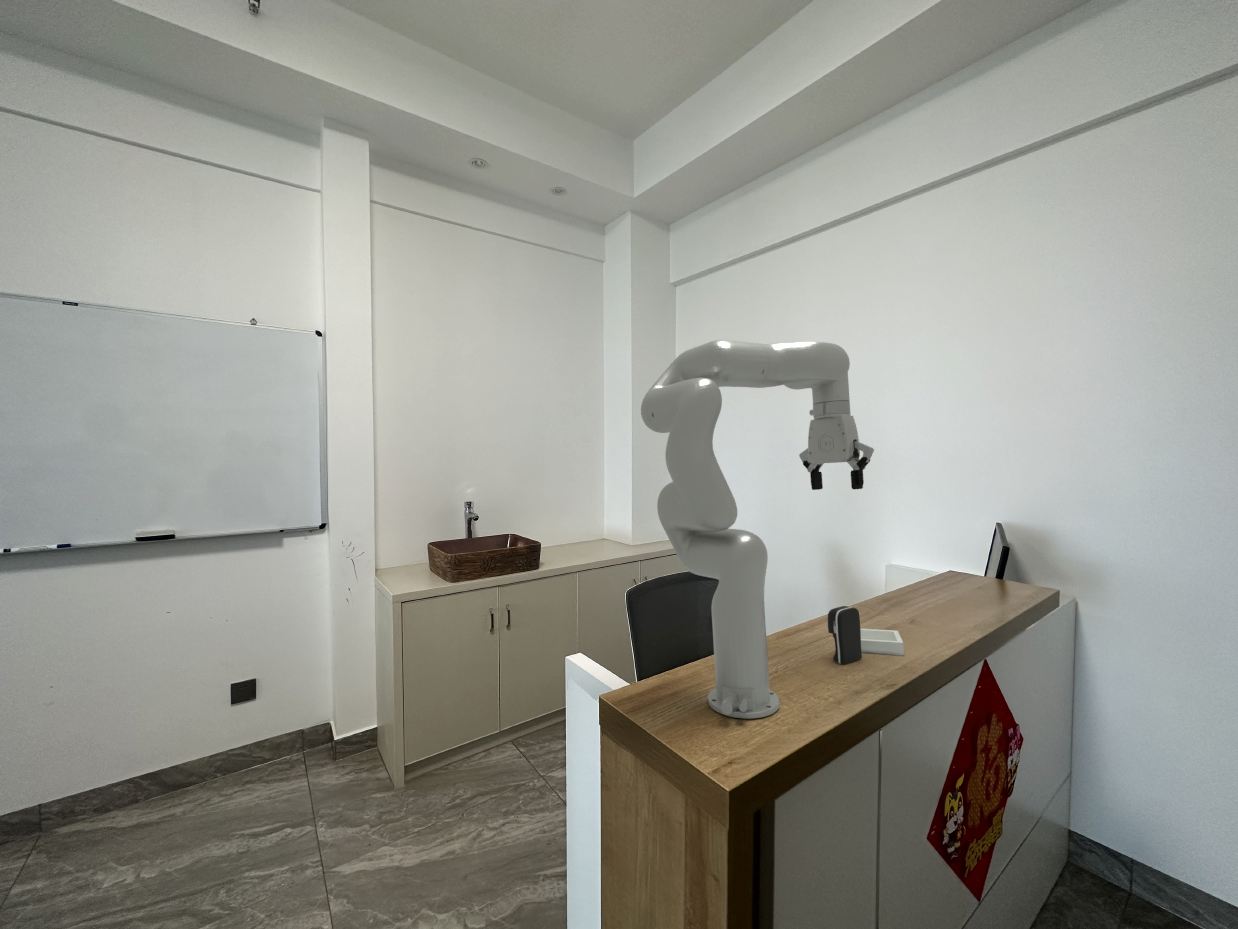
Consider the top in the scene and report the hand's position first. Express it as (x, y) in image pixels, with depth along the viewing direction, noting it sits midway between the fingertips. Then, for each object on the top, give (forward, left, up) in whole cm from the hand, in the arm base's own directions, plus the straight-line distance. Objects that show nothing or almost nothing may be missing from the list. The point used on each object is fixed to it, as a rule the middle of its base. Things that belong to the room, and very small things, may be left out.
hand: (836, 489), depth 112 cm
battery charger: (0, 0, -38) cm, 38 cm away
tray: (+10, -6, -37) cm, 39 cm away
